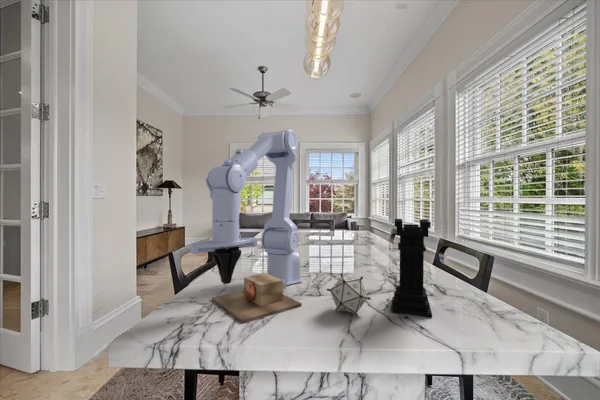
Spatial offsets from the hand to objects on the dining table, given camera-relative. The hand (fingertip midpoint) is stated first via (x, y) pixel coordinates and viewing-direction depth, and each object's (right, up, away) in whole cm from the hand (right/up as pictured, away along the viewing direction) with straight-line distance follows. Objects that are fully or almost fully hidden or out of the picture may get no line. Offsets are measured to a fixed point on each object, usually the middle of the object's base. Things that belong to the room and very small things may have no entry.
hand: (226, 282), depth 62 cm
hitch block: (+6, -6, +5) cm, 10 cm away
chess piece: (+42, -7, +2) cm, 42 cm away
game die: (+27, -7, -1) cm, 28 cm away
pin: (+8, -5, +6) cm, 12 cm away
